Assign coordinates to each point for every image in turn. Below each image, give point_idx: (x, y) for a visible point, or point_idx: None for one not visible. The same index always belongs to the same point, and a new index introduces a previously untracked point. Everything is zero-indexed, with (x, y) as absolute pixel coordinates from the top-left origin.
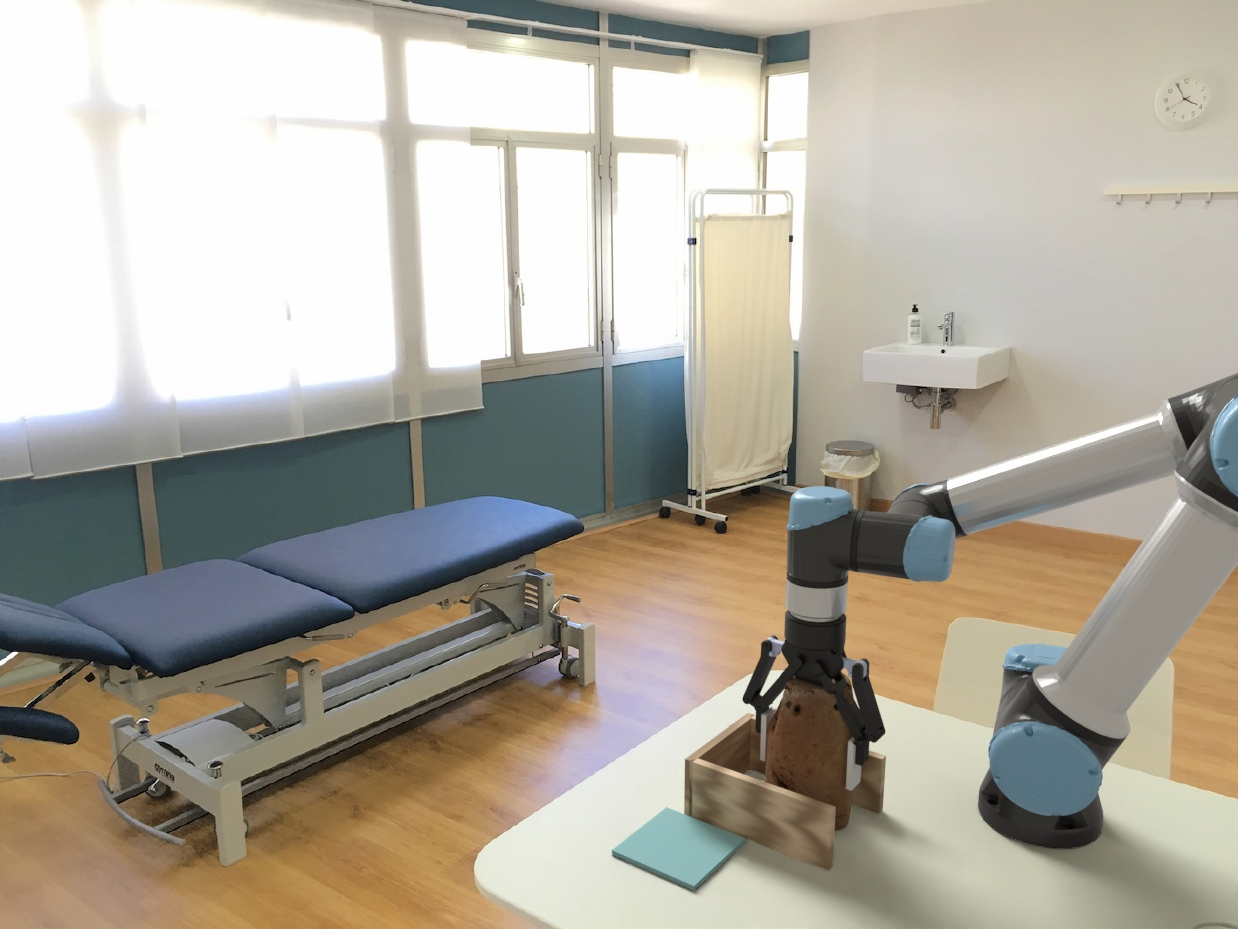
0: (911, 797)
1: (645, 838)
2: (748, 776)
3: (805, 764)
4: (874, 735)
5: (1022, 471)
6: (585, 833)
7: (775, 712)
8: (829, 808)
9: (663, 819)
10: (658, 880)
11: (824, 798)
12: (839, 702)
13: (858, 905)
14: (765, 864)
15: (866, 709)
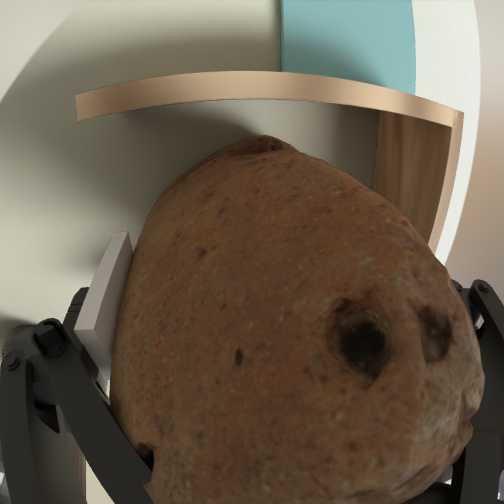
0: None
1: (397, 15)
2: (351, 103)
3: (222, 195)
4: (6, 371)
5: None
6: (444, 19)
7: None
8: (85, 102)
9: (405, 64)
10: None
11: (174, 196)
12: (130, 490)
13: (51, 66)
14: (219, 40)
15: (11, 464)
